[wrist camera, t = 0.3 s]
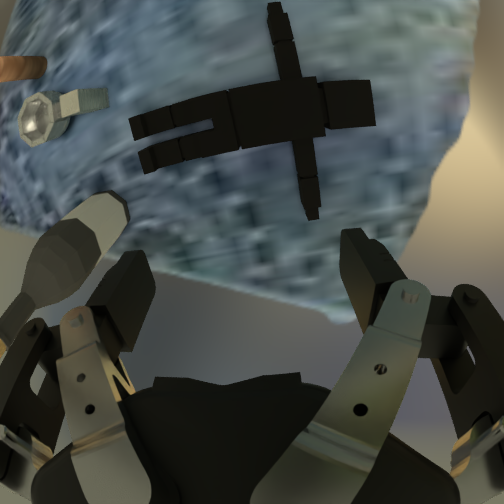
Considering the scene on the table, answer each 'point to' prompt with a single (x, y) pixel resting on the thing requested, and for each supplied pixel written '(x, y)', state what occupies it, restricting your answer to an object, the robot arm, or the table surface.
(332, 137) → the table surface
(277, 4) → the toy
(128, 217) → the wine bottle
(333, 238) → the table surface
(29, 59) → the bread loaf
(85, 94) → the mug
